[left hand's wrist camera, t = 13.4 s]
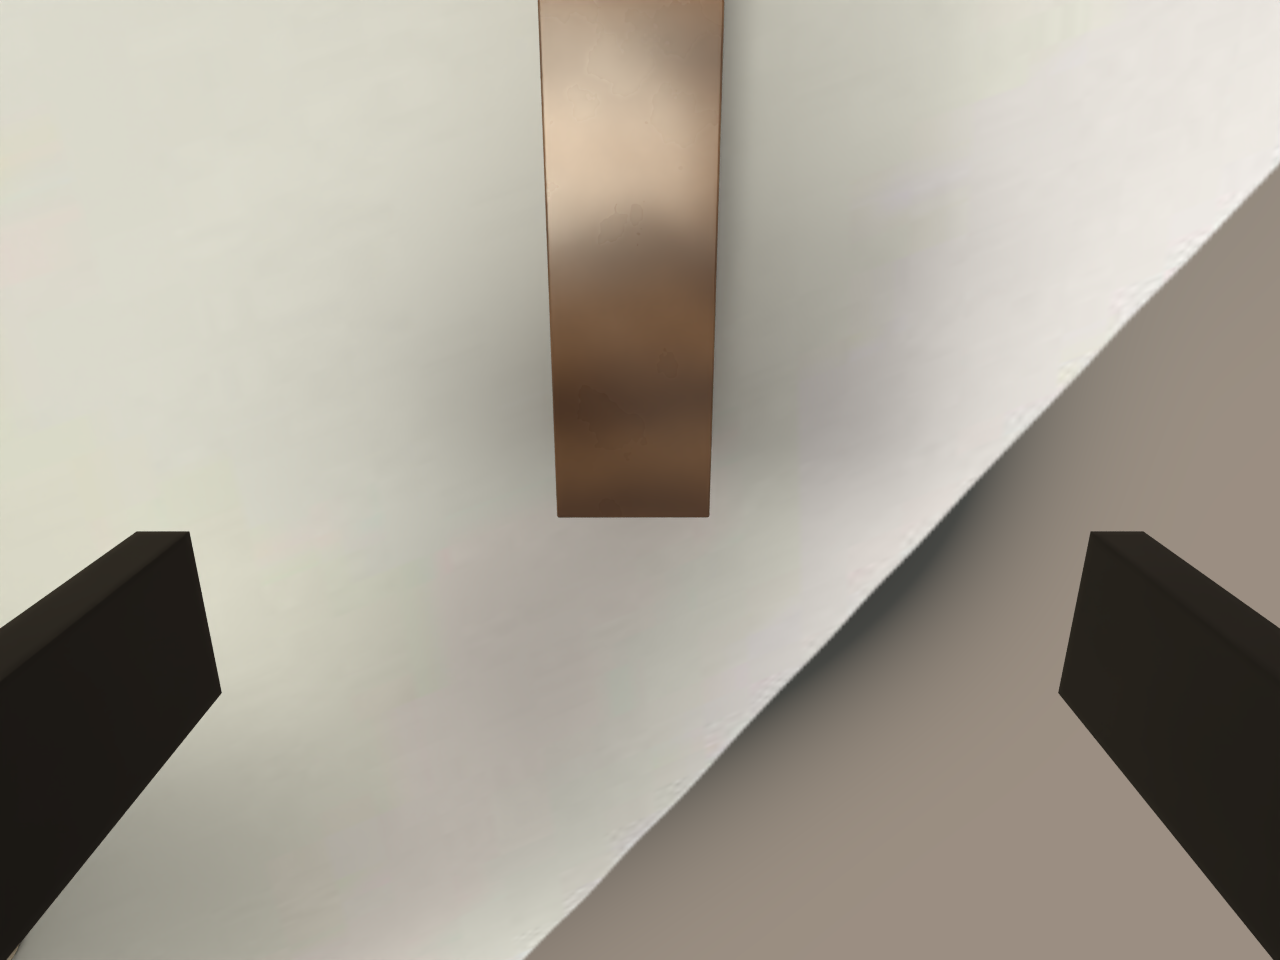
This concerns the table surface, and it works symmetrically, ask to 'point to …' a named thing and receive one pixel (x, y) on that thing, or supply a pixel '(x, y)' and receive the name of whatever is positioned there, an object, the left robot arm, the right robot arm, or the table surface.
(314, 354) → the table surface
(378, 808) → the table surface
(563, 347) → the bar
